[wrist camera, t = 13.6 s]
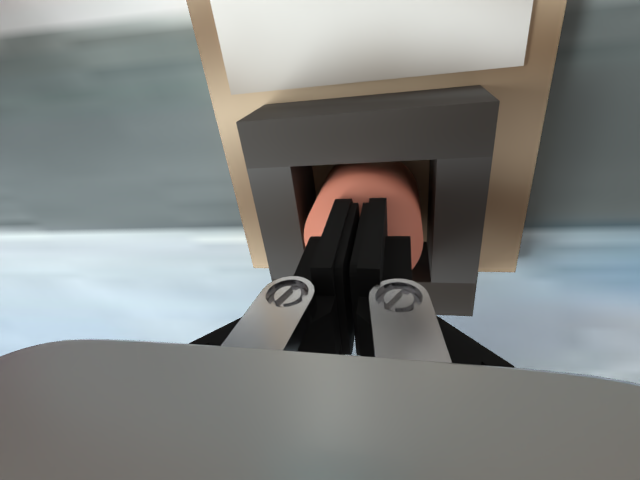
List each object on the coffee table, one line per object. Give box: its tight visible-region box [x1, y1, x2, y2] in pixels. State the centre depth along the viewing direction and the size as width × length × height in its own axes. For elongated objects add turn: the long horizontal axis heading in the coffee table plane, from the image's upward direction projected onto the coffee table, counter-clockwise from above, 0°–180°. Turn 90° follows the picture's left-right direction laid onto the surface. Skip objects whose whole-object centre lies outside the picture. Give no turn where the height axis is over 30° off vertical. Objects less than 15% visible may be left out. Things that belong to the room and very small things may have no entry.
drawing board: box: [186, 0, 567, 316], centre depth 12 cm, size 20×12×4 cm, turn 7°
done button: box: [304, 161, 423, 269], centre depth 14 cm, size 4×4×4 cm
